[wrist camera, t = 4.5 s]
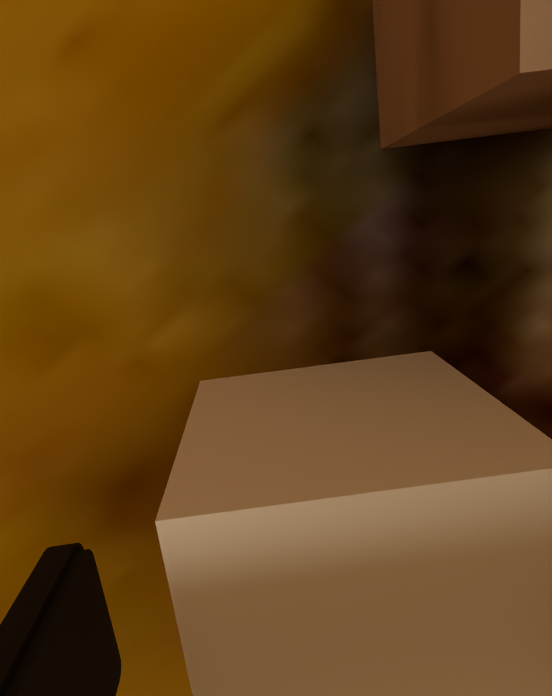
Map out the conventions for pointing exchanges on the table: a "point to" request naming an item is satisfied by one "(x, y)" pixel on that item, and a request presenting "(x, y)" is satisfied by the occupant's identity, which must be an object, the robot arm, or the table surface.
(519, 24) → the walnut block
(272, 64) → the table surface
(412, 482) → the cream block
